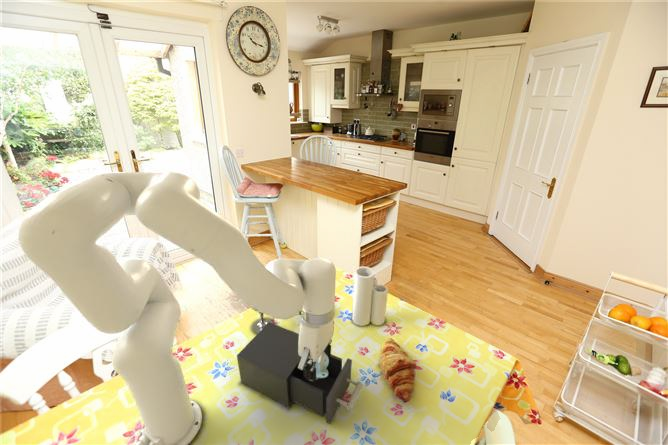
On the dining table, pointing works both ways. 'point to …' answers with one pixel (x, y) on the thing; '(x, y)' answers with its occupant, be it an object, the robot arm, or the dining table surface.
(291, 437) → the dining table surface
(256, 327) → the wine glass
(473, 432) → the dining table surface
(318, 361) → the pacifier
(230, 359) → the dining table surface
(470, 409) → the dining table surface
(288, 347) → the cabinet
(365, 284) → the vase
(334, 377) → the drawer
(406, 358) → the croissant
